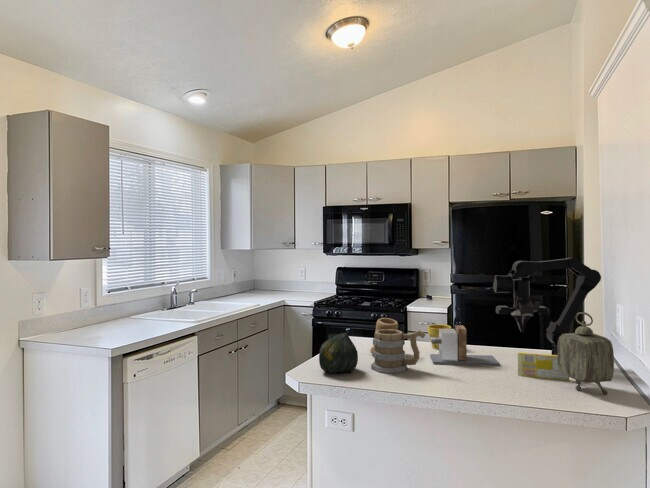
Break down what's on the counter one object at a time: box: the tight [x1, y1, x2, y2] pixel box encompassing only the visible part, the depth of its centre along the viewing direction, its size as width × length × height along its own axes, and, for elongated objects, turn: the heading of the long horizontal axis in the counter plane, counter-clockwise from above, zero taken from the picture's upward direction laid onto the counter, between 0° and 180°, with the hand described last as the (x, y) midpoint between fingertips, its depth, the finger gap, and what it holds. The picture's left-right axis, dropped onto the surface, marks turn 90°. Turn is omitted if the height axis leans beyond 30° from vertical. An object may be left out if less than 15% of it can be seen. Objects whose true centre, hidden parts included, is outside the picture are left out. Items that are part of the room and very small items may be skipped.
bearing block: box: [438, 328, 458, 361], centre depth 180 cm, size 6×9×11 cm, turn 172°
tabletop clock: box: [557, 311, 615, 396], centre depth 143 cm, size 14×9×25 cm, turn 12°
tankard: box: [370, 329, 426, 374], centre depth 169 cm, size 20×13×15 cm, turn 70°
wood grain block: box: [430, 324, 468, 360], centre depth 180 cm, size 13×8×12 cm, turn 82°
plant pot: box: [427, 324, 452, 350], centre depth 202 cm, size 10×10×10 cm
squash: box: [318, 332, 359, 374], centre depth 167 cm, size 14×15×15 cm
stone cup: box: [369, 317, 399, 354], centre depth 194 cm, size 15×12×15 cm
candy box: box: [517, 351, 570, 382], centre depth 157 cm, size 16×2×8 cm, turn 65°
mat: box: [429, 353, 501, 367], centre depth 180 cm, size 25×12×1 cm, turn 82°
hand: (522, 332), depth 177 cm, fingers closed
